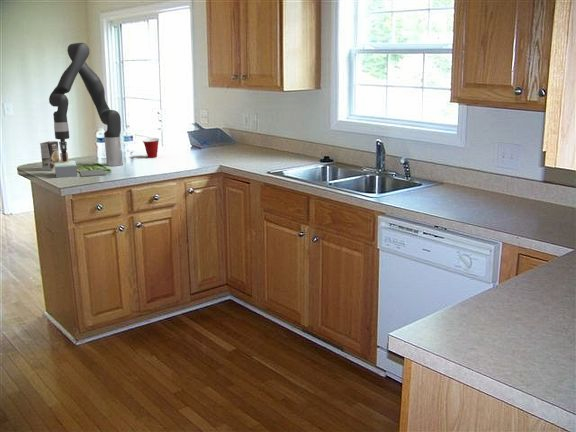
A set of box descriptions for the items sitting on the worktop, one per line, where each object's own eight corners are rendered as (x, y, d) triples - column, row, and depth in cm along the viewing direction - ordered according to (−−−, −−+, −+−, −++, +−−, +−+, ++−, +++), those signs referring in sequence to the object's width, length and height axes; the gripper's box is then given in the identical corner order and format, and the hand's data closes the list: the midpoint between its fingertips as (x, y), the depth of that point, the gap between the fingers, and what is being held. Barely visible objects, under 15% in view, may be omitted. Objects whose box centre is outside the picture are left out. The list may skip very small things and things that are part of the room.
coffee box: (52, 170, 360) (49, 143, 356) (42, 170, 361) (39, 143, 357) (61, 168, 368) (58, 141, 364) (51, 167, 370) (48, 140, 365)
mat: (102, 170, 360) (102, 169, 360) (105, 175, 346) (105, 174, 346) (79, 172, 355) (79, 171, 355) (81, 176, 342) (81, 175, 341)
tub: (75, 172, 355) (74, 161, 354) (77, 176, 344) (76, 165, 342) (55, 173, 351) (54, 163, 350) (56, 177, 340) (55, 167, 338)
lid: (74, 163, 354) (73, 151, 352) (76, 167, 342) (75, 155, 341) (54, 165, 350) (53, 153, 348) (55, 168, 338) (54, 156, 337)
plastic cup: (142, 156, 406) (140, 138, 403) (158, 155, 410) (157, 137, 407) (145, 159, 396) (143, 140, 393) (162, 158, 400) (160, 139, 397)
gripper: (69, 131, 339) (72, 162, 344) (68, 128, 352) (70, 158, 356) (54, 132, 337) (58, 163, 341) (54, 129, 349) (57, 159, 353)
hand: (64, 160), depth 349 cm, fingers closed on lid
